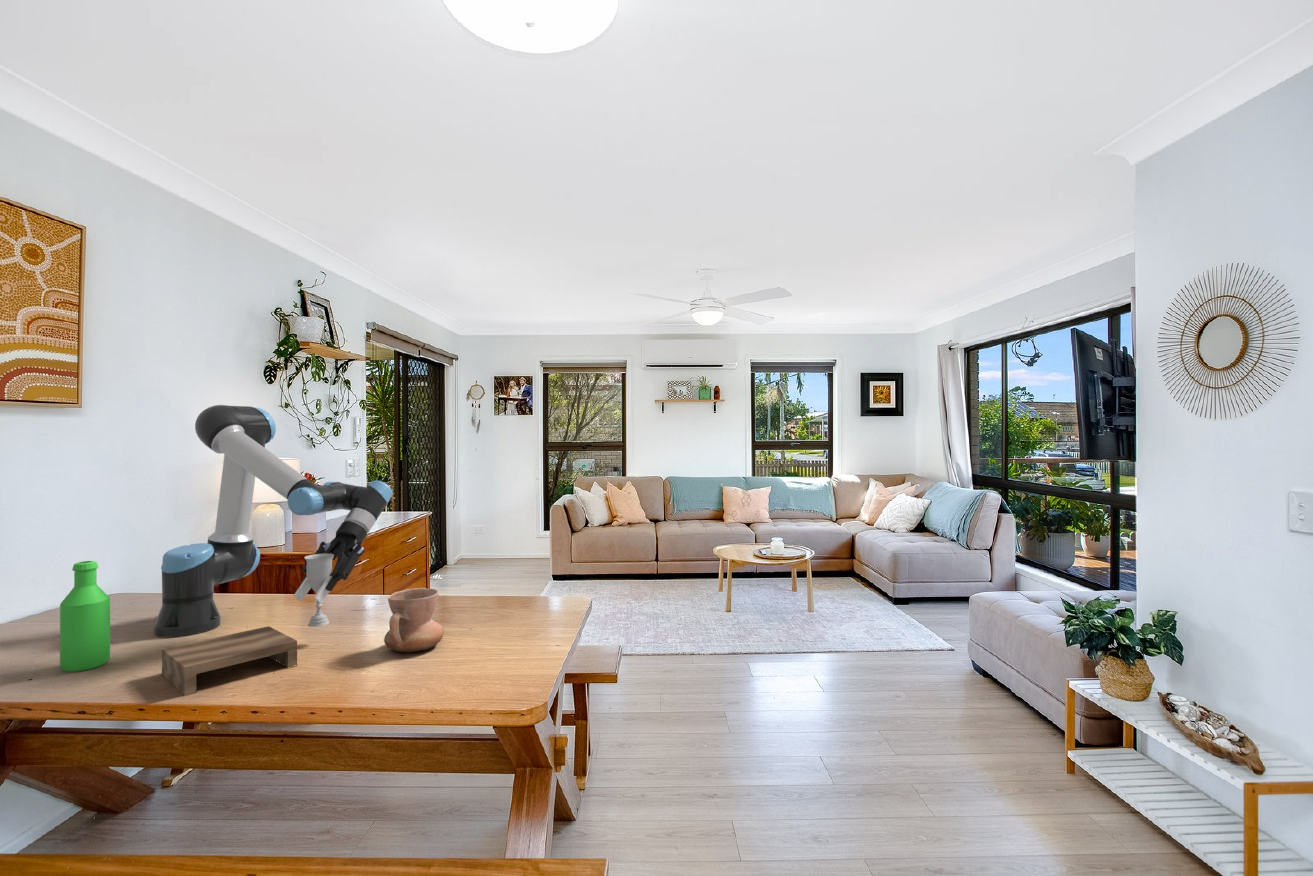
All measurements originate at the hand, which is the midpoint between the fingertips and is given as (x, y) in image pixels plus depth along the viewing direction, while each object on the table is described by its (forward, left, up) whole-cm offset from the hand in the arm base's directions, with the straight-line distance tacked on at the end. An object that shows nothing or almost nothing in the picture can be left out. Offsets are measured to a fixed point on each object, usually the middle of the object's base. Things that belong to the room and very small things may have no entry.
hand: (307, 599), depth 159 cm
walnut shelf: (+2, -18, -13) cm, 22 cm away
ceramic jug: (+21, +17, -13) cm, 30 cm away
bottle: (-28, -39, -13) cm, 49 cm away
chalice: (-2, +3, -8) cm, 8 cm away
